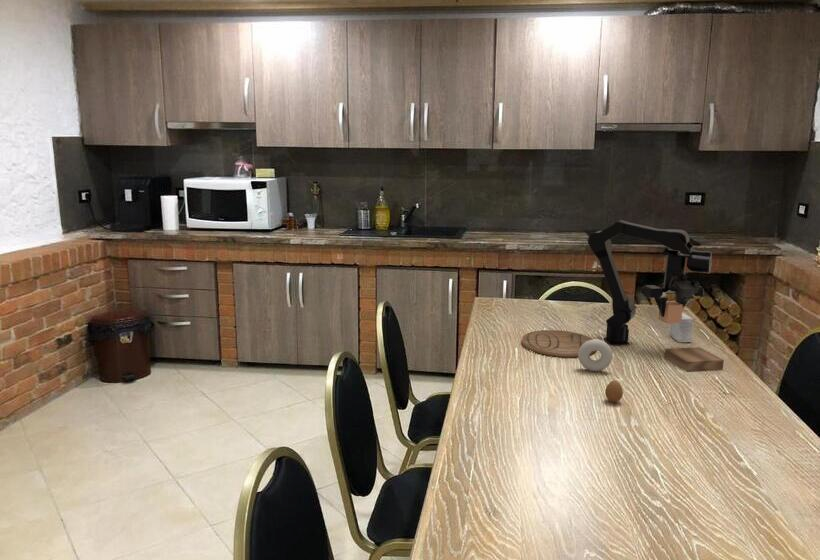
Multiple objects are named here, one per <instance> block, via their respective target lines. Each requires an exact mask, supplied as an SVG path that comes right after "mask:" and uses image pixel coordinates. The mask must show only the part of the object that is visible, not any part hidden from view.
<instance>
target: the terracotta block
mask: <svg viewBox="0 0 820 560" xmlns="http://www.w3.org/2000/svg"><path fill="white" fill-rule="evenodd" d="M683 309H684V308H683V305H682V304H680V303H678V302H676V300H667V301H666V306H665V314H664V317H662V316H661V314H660V311H659V310H658V317H657V318H658V320H659V321H661V322H664V323H665V324H671V323H681V319H682V313H683V311H684V310H683Z"/></svg>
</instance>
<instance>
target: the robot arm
mask: <svg viewBox="0 0 820 560" xmlns="http://www.w3.org/2000/svg"><path fill="white" fill-rule="evenodd" d="M620 234H624V235H626V236H627V235H628V236H633V237H636V238H641V239H646V240H648V241H649V240H650V241H654V242H656V243H658V244H661V245H663V246H664V247H665V249H664V250H662V251H661V252H660V255H661V256H666V260H665V270H662V275H664V282H663V283H661V287H660V286H657V285H655V284H650V285H649V284H647V285H643V286H642V288H641V294H642V295H645V296H646V297H648V298H653V299H654V301H655V304H656V305H657V308H658V312H659V311H660V314H661V316H662V317H664V314H665V306H666V301H669V298H668V297H667V296H666V295H669V294H670V295H671V294H675V302H678V303H680V304H682V305H683V309H684V308H685V305H686V304H687V303H688V302H689V301H690V300H692V299H695V297H704V293H705V290H704V288H703V286H701V283H700V282H699V281H698V280H692V281H689V280H688V274H687V273H685V272H686V268H687V270H689V272H692V273H694V272H695V273H702V274H710V273H711V270H712V265H713V255H712V254H713V252H712V251H709V250H707V251H704V250H703V251H702V250H701V251H700V250H696V249H695V247H694V246H693V244H692V243H691V241H690V238H691V237H690V235H689V233H688V232H687V231H685V230H683V229H676V228H675V229H671V228H669V229H666V228H657V227H652V226H647V225H644V224H639V223H634V222H629V221H627V220H624V219H623V220H622V219H621V220H618V221H615V222H614V223H613V224H611V225H609V227H608V226H607V227H606V228H605V229H603V230H597V231H595V232H593V233H591V234H590V235H589V236H588V238H587V244H588V246H589V248H590V250H591V251H592V252H591V253H593V255H594V256H595V257H596V258H597V259H598V261H599V264H600V268H601V270H602V272H603V273H602V274H603V276H604V279H605V281H606V284H607V289H608V290H609V293H610V295H611V299H612V300H611V302H612V305H611V306H612V307H611V308H612V313H613V314H612V315H611V316H610V317H608V318H607V319H606V320H605V322H606V323H605V324H606V330H605V332H606V333H605V337H603V341H604V342H605V341H606V343H607V344H608V343H609V345H612V346H617V345H619V346H620V345H630V342H629V336H630V335H629V334H630V329H629V325H628V323H629V322H630V321H631V320H632V319H633V318H635V315H636V314H637V311H636V309H637V308H638V307H637V305H635V300H634V297H633V296H632V297H630V298H629V296H627V294H626V293H625V290H624V287H623V285H622V280H621V278H620V275H619V272H618V269H617V266H616V264H615V261H614V259H613V255H612V254H613V253H612V252H613V251H612V248H613V247H612V239H614V238H615V237H617V236H618V235H620ZM693 295H694V296H693Z"/></svg>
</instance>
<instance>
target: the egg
mask: <svg viewBox="0 0 820 560" xmlns="http://www.w3.org/2000/svg"><path fill="white" fill-rule="evenodd" d="M604 393H605V394H604V395H605V398H606V399H607V401H609V402H610V403H618V402H619V401H621V399H622V398H623V395H624V394H623V393H624V390H623V387H622V384H621V383H620V381H618V380H611V381H609V383H608V384H607V386H606V387H605V391H604Z"/></svg>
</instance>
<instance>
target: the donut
mask: <svg viewBox="0 0 820 560" xmlns="http://www.w3.org/2000/svg"><path fill="white" fill-rule="evenodd" d="M592 339H593V340H589V341H586V342H585V343H584V344H582V346H581V347H580V349H579V352H578V358H577V359H578V361H579V363H580V365H581V366H582V367H583V368H584V369H587V370H588V371H591V372H601V371H604V370H605V369H608V367H609V366H610V365H611V363H612V362H613V359H614V358H613V350H612V348H611V346H609V345H610V344H608V342H605V340H601V339H596V338H595V339H594V338H592ZM595 350H596V351H597V352H599V353H600V357H599V358H598V359H595V360H594V359H592V358H591V356H590V353H591V352H592V351H595Z"/></svg>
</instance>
